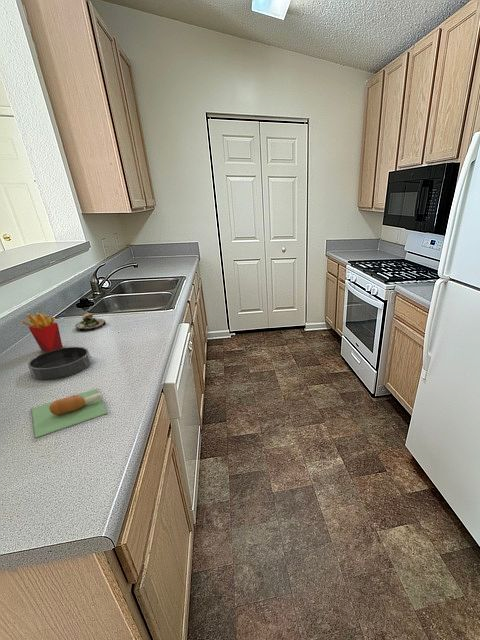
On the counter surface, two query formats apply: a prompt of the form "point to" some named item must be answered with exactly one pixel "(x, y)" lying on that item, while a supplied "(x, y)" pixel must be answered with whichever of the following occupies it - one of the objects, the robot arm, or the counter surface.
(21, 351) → the counter surface
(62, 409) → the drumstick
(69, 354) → the pan
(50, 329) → the french fries
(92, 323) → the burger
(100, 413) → the napkin
